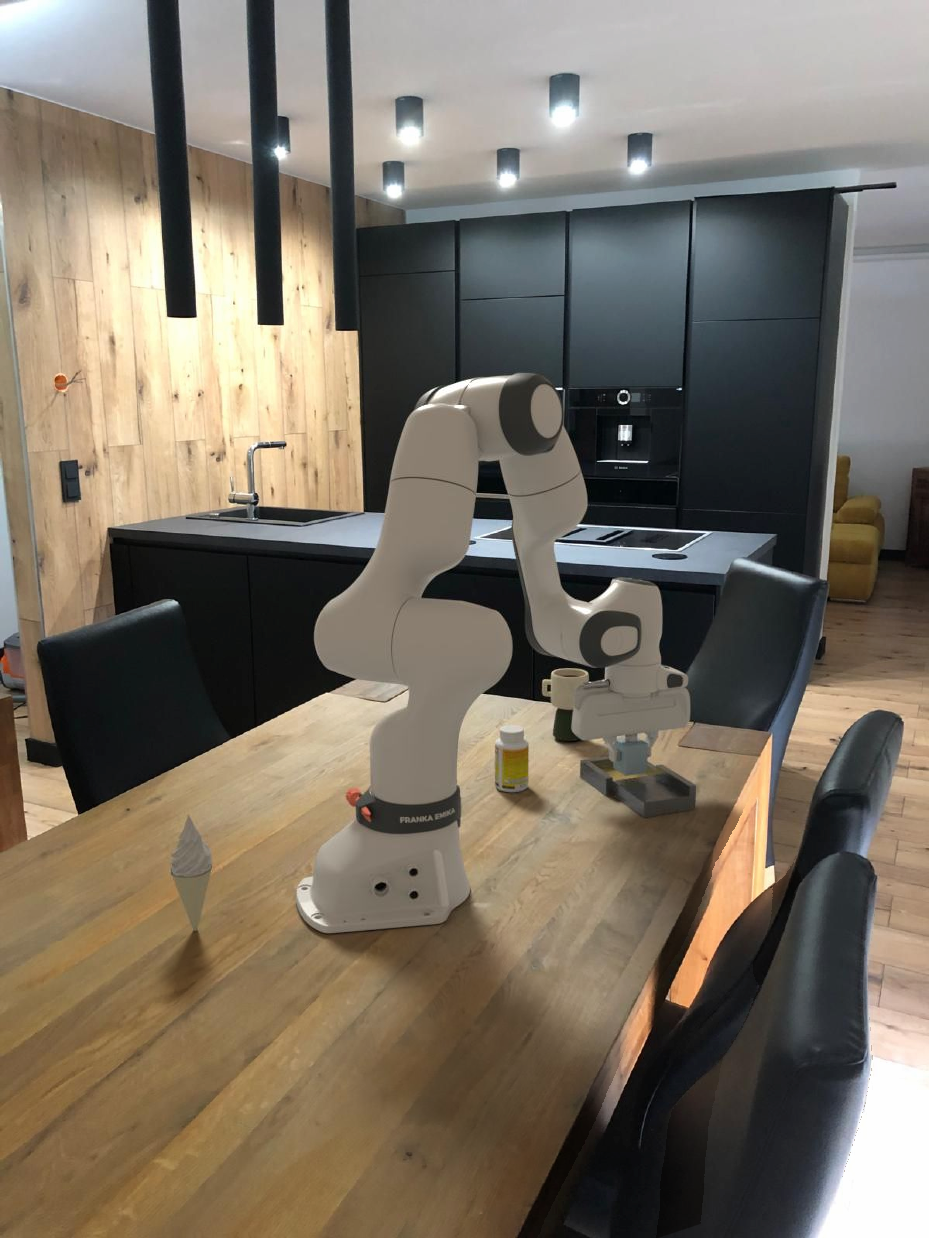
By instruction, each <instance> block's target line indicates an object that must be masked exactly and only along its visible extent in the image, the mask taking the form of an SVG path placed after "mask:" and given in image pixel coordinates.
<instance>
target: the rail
mask: <svg viewBox="0 0 929 1238" xmlns="http://www.w3.org/2000/svg"><path fill="white" fill-rule="evenodd" d="M579 761H580V762H579V765H580V766H579V777H580V778H581V779H583V780H584V782H586V783H587V784H589V785H590V786H592V787H593V788H594V789H596V790H597V791H599V793H601V794H603V795H604V796H613V797H615V798H616V799H617V800H619V801H620V802H622V804H624V805H626V807H628V808H630V809H631V810H632V811H633V812H635V813H636V814H637V815H639V814H640V815H639V816H640V817H642V818H644V819H647V818H651V817H657V815H658V816H663V815H662V814H664V815H669V814H668V813H670V814H674V812H676V813H680V812H679V811H682V812H688V811H693V810H692V809H694V810H696V801H697V800H696V799H697V797H696V796H697V784H696V783H693V782H692V781H690V780H689V779H687V778H685V777H684V776H682V775H680V774H679V773H677V772H676V771H674V770H672V769H671V768H669V767H667V766H666V765H664V764H655V765H654V764H653V763H651V762H649V761H648V760H647V773H643V774H635V775H628V776H624V775H623V774H622V773H620V772H619V771H617V770H616V769H614V768H613V762H612V761H611V760H610V759H609V755H608V756H600V757H593V758H586V759H580V760H579Z"/></svg>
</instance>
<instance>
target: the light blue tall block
mask: <svg viewBox="0 0 929 1238" xmlns="http://www.w3.org/2000/svg"><path fill="white" fill-rule="evenodd" d="M638 734H639V733H638ZM638 734H631V735H624V737H620V738H618V737H617V742H615V743H614V742H613V743H614V745H615V747H616V748H618V749H619V750H621V751H622V756H621V757H622V760H621V761H616V762H613V768H614V769H616V770H617V771H619V772H620V773H622V774H623V775H624V776H628V775H635V774H643V773H647V761H648V758H649V757H648V743H646V742H644V740H642V739H641V738H639V737H638Z"/></svg>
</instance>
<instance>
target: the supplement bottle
mask: <svg viewBox="0 0 929 1238" xmlns="http://www.w3.org/2000/svg"><path fill="white" fill-rule="evenodd" d="M529 752H530V751H529V741H528V740H527V738H525V730H524V727H522V726H520V725H517V724H516V725H515V724H511V725H509V724H508V725H504V726H501V727H500V728H499V737H498V738H497V739H496V740H495V742H494V785H495V788H496V789H498V790H499V791H501V792H505V793H519V792H523V791H525V790H526V789H527V788H528V787H529V761H530V760H529Z"/></svg>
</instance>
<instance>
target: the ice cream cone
mask: <svg viewBox="0 0 929 1238" xmlns="http://www.w3.org/2000/svg"><path fill="white" fill-rule="evenodd" d="M178 839H179V842H178V844H177V845H176V846H175V847H174V849H175V850H174V851H172V853H171V854H170V856H171V857H172V858H173V859H172V860H171V862H170V866H171V868H169V875H171V877H172V880H173V881H174V886H175V887H176V890H177V892H178V895H179V898H180V900H181V903H182V905H183V907H184V908H183V909H184V910H185V913H186V915H187V918H188V920H189V923H190V926H191V928H192V930H193V931H194V932H197V931H198V929H199V925H200V919H201V916H202V912H203V908H204V903H205V899H206V894H207V891H208V885H209V880H210V876H211V874H212V870H213V868H214V866H213V865H214V863H213V861H214V860H213V859H214V858H213V854H212V851H211V848H210V845H208V844H207V843H206V842H204V841H203V839H202V834H201V833H200V831H199V830H198V829H197V828H196V826H195V824H194V822H193V820H192V819H191V816H190V814H187V816H186V821H185V824H184V827H183V829H182V832H181V833H180V834H179V835H178Z"/></svg>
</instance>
